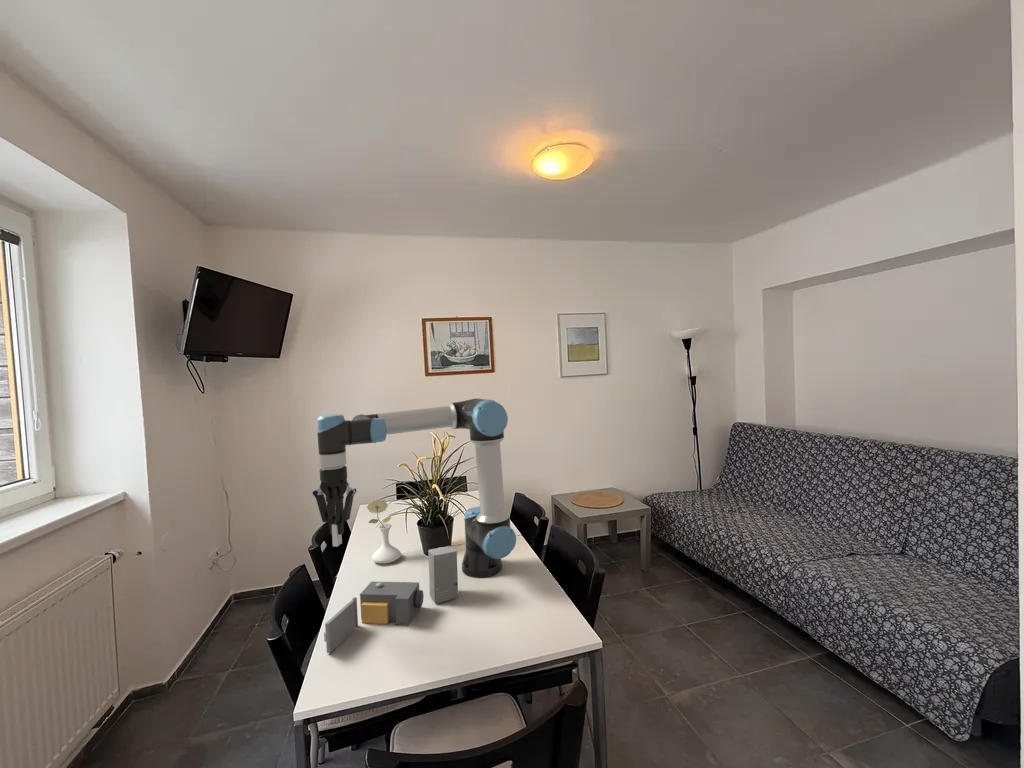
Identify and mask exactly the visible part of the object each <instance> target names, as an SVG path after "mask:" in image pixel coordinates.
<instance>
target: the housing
mask: <svg viewBox="0 0 1024 768" xmlns="http://www.w3.org/2000/svg"><path fill="white" fill-rule="evenodd" d="M424 596H425V595H424V591H423V590H422V589H420V582H416V581H414V582H413V581H411V582H410V581H406V582H405V581H370V582H369V583H368V585H367V586H366V587H365V588H364V589H363V590H362V591H361V592H360V593H359V599H360V600H359V601H360V617H361V618H360V620H361V623H362V624H381V625H382V624H383V625H388V624H389V622H391V621H392V622H396V626H410V625H411V624H412V623H413V620H414V618H415V617H416V615H417V613H418V612H419V610H420V609H421V608H422V607H423V603H424ZM357 599H358V598H357V597H355V596H353V597H352V598H351V600H352V601H354V605H355V623H356V627H355V628H354V629H356V628H358V627H359V617H358V600H357Z"/></svg>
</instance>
